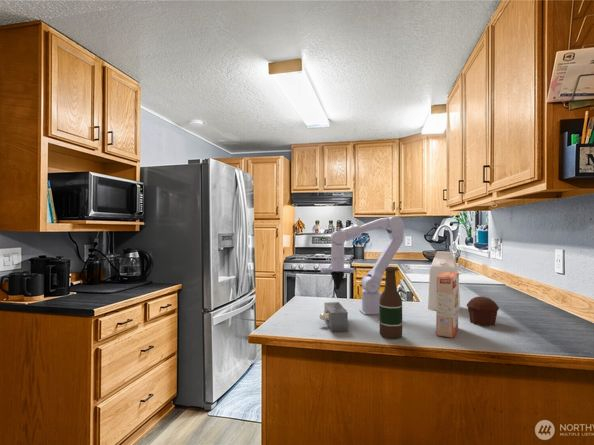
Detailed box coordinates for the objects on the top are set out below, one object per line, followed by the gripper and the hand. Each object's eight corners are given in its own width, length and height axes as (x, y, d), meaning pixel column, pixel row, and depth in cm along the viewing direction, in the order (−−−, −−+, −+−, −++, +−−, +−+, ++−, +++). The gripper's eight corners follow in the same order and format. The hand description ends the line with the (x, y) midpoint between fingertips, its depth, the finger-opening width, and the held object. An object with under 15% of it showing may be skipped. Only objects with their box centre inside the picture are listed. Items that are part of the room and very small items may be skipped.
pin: (344, 320, 136) (344, 308, 136) (347, 323, 131) (347, 311, 131) (318, 321, 135) (318, 308, 135) (320, 324, 130) (320, 312, 130)
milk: (460, 306, 160) (459, 251, 160) (456, 312, 151) (456, 253, 150) (433, 303, 167) (432, 250, 167) (427, 308, 157) (427, 252, 157)
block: (338, 319, 141) (338, 302, 141) (347, 331, 126) (347, 312, 126) (324, 319, 141) (324, 302, 141) (331, 332, 125) (331, 312, 125)
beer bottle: (402, 333, 123) (402, 266, 123) (402, 340, 116) (401, 269, 116) (380, 331, 126) (380, 265, 126) (378, 338, 118) (378, 268, 118)
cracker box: (454, 339, 117) (454, 277, 117) (435, 336, 120) (435, 276, 120) (459, 328, 129) (459, 272, 129) (442, 325, 132) (442, 271, 132)
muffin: (503, 328, 128) (503, 301, 128) (471, 326, 130) (471, 300, 130) (493, 319, 139) (493, 294, 139) (463, 318, 142) (463, 293, 142)
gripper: (351, 257, 156) (350, 287, 156) (319, 257, 154) (319, 287, 154) (355, 259, 149) (355, 290, 149) (322, 258, 147) (322, 290, 147)
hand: (337, 289), depth 151 cm, fingers closed
